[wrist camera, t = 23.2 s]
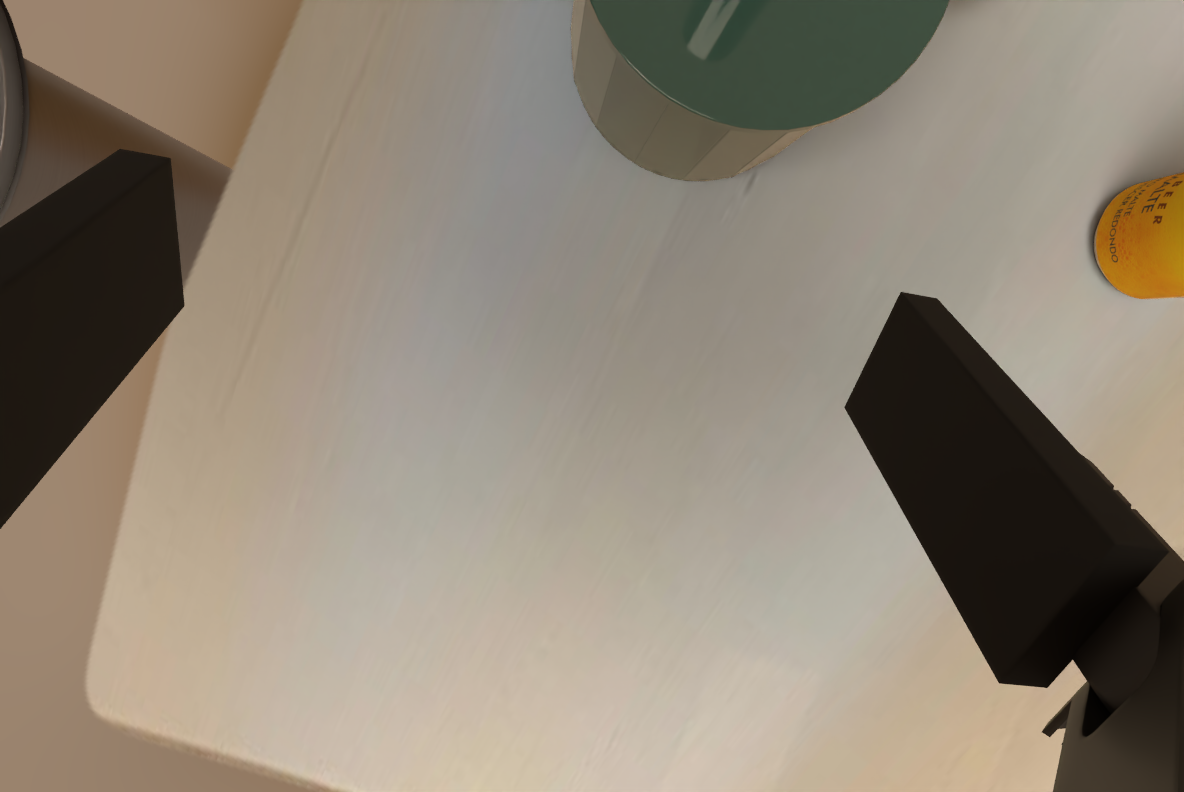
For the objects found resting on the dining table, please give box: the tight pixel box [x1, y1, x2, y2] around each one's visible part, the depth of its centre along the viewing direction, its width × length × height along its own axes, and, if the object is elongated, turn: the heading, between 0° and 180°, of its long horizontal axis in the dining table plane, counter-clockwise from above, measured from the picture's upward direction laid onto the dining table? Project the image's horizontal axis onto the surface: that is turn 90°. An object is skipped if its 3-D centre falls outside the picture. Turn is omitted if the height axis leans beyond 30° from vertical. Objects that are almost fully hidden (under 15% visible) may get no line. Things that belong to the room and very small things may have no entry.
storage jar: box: [571, 0, 812, 181], centre depth 32 cm, size 13×13×12 cm
